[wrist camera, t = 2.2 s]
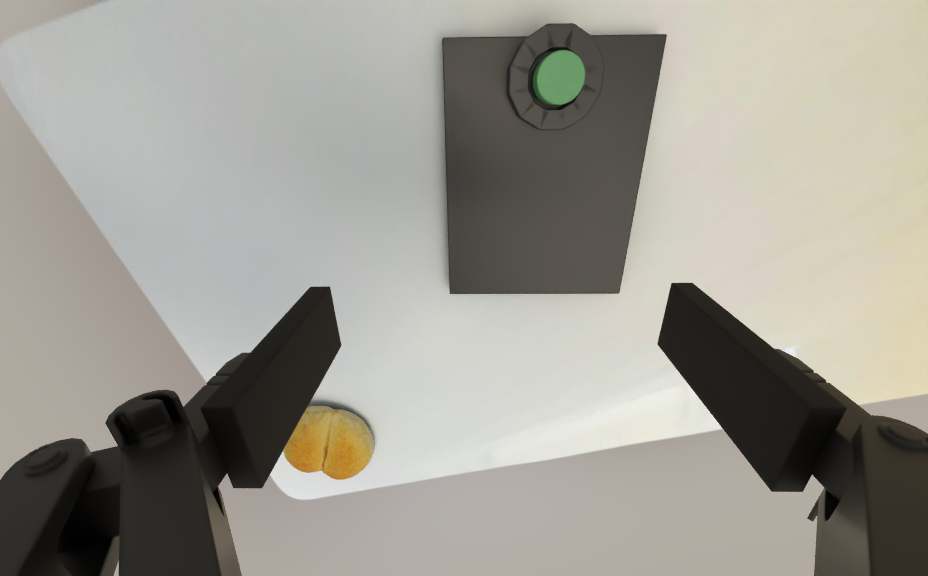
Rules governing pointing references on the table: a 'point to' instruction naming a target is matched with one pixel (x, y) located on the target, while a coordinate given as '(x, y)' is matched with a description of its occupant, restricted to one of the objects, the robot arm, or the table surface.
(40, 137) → the table surface
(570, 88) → the button
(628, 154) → the scale
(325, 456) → the bread roll
